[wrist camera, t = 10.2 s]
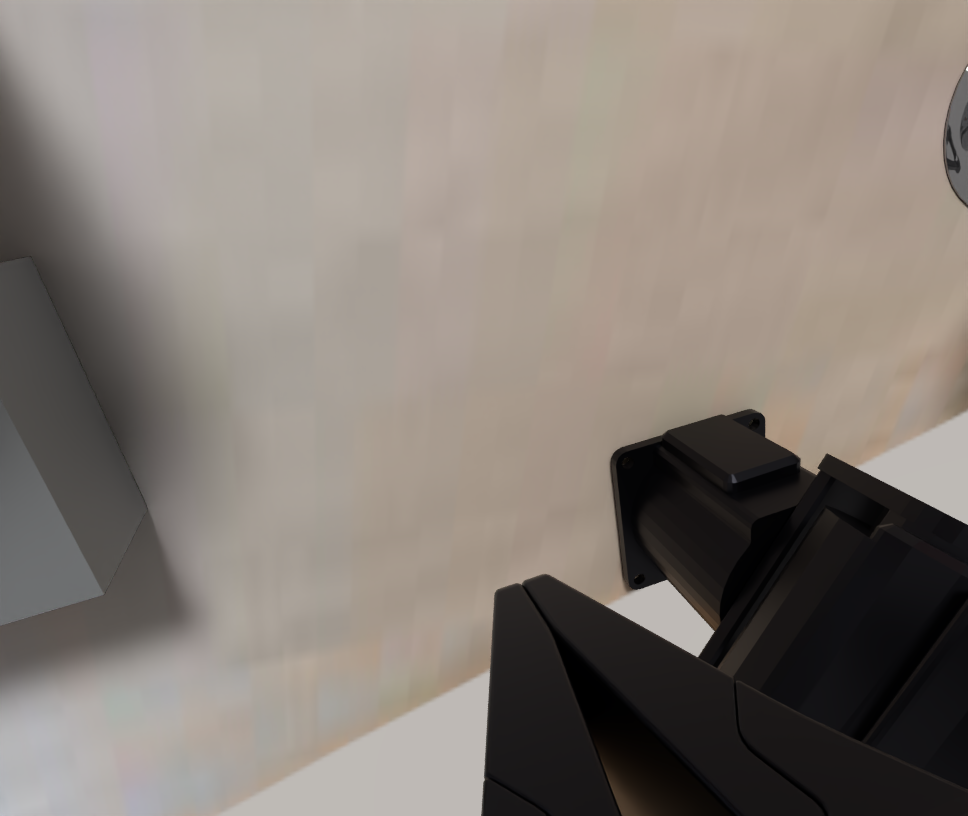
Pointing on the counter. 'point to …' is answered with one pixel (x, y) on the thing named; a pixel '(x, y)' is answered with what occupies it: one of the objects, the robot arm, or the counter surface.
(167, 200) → the counter surface
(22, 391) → the sliding door box
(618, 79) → the counter surface
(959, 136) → the wine glass
